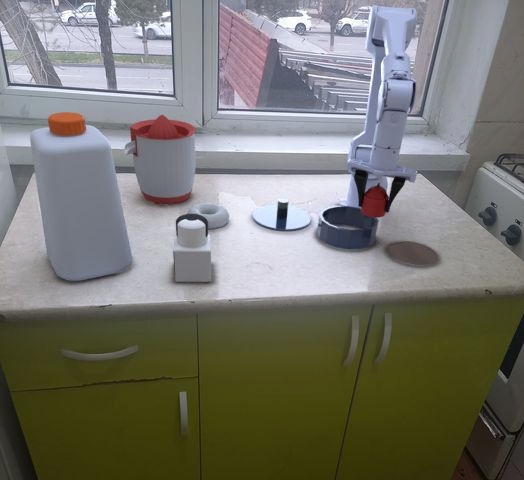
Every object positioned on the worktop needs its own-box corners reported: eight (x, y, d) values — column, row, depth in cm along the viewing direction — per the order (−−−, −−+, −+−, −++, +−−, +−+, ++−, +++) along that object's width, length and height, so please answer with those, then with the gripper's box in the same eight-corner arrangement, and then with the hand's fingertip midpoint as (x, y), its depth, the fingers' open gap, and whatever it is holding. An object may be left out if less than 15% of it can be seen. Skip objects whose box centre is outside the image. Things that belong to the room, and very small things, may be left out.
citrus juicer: (124, 188, 135) (114, 107, 122) (188, 183, 141) (185, 104, 128) (135, 213, 124) (126, 126, 111) (204, 206, 130) (203, 122, 117)
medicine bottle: (176, 264, 106) (173, 209, 99) (211, 264, 107) (210, 210, 99) (174, 282, 101) (171, 225, 93) (211, 282, 101) (210, 226, 94)
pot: (350, 221, 128) (353, 202, 125) (385, 244, 119) (390, 224, 116) (305, 231, 122) (308, 211, 119) (340, 256, 113) (343, 235, 110)
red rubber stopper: (374, 206, 117) (380, 176, 113) (390, 215, 114) (396, 185, 109) (355, 209, 115) (361, 180, 111) (371, 219, 111) (377, 189, 107)
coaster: (412, 239, 122) (413, 237, 121) (447, 260, 115) (447, 258, 114) (377, 248, 117) (378, 246, 117) (411, 270, 110) (411, 268, 110)
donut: (181, 229, 119) (223, 234, 118) (180, 215, 117) (222, 220, 116) (194, 211, 127) (233, 216, 126) (193, 198, 125) (233, 203, 123)
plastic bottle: (44, 252, 107) (11, 108, 89) (116, 239, 113) (98, 102, 95) (61, 287, 97) (26, 133, 79) (138, 271, 103) (123, 125, 85)
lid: (290, 204, 133) (291, 185, 130) (321, 227, 124) (324, 207, 121) (242, 213, 127) (242, 194, 124) (271, 238, 118) (273, 217, 115)
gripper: (348, 144, 104) (337, 208, 112) (420, 156, 100) (404, 221, 109) (355, 135, 109) (344, 196, 117) (424, 146, 106) (408, 208, 114)
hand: (373, 207), depth 114 cm, fingers closed on red rubber stopper, 5 cm apart
